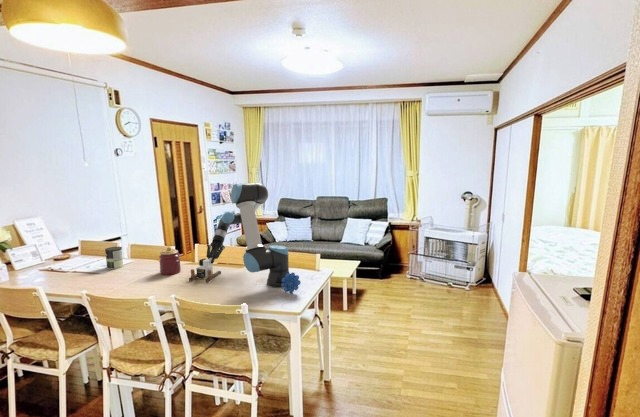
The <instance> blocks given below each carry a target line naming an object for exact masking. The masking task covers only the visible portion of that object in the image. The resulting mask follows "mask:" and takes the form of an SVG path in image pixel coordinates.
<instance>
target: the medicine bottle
mask: <svg viewBox="0 0 640 417" xmlns="http://www.w3.org/2000/svg"><path fill="white" fill-rule="evenodd" d="M198 265H199V266H198V267H196V274H197V278H196V279H200V280H205V281H206V279H207V278H208V274H207V271H208V270H211V275H213V274H214V273H213V272H214V270H213V265H211V266H210V265H209V259H208V258H201V259H199V261H198Z"/></svg>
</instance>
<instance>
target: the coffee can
mask: <svg viewBox="0 0 640 417" xmlns="http://www.w3.org/2000/svg"><path fill="white" fill-rule="evenodd" d="M104 250H105V261H106V269H107V268H108V269H107V270H110V269H112V270H119V269H121V268H123V267H124V260H123V258H124V256H123V248H122V246H110V247H107V248H104Z"/></svg>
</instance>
